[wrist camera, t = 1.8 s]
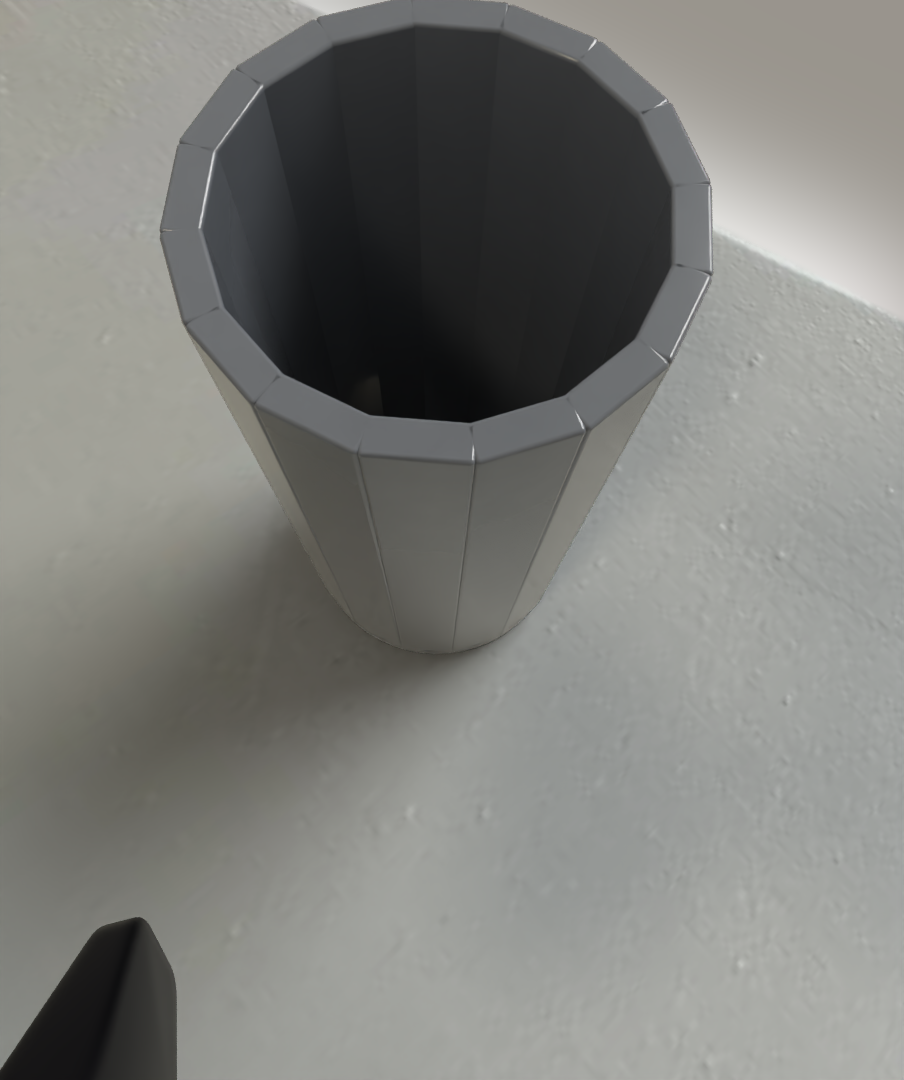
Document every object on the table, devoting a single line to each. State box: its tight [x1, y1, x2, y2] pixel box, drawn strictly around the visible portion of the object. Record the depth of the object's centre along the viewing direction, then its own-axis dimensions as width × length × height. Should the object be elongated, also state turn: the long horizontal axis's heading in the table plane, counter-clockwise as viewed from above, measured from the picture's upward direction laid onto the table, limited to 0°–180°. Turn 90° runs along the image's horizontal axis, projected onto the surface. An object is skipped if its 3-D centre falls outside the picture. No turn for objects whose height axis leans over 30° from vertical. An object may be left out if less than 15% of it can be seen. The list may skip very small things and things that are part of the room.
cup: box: [160, 0, 713, 654], centre depth 16 cm, size 6×6×13 cm
